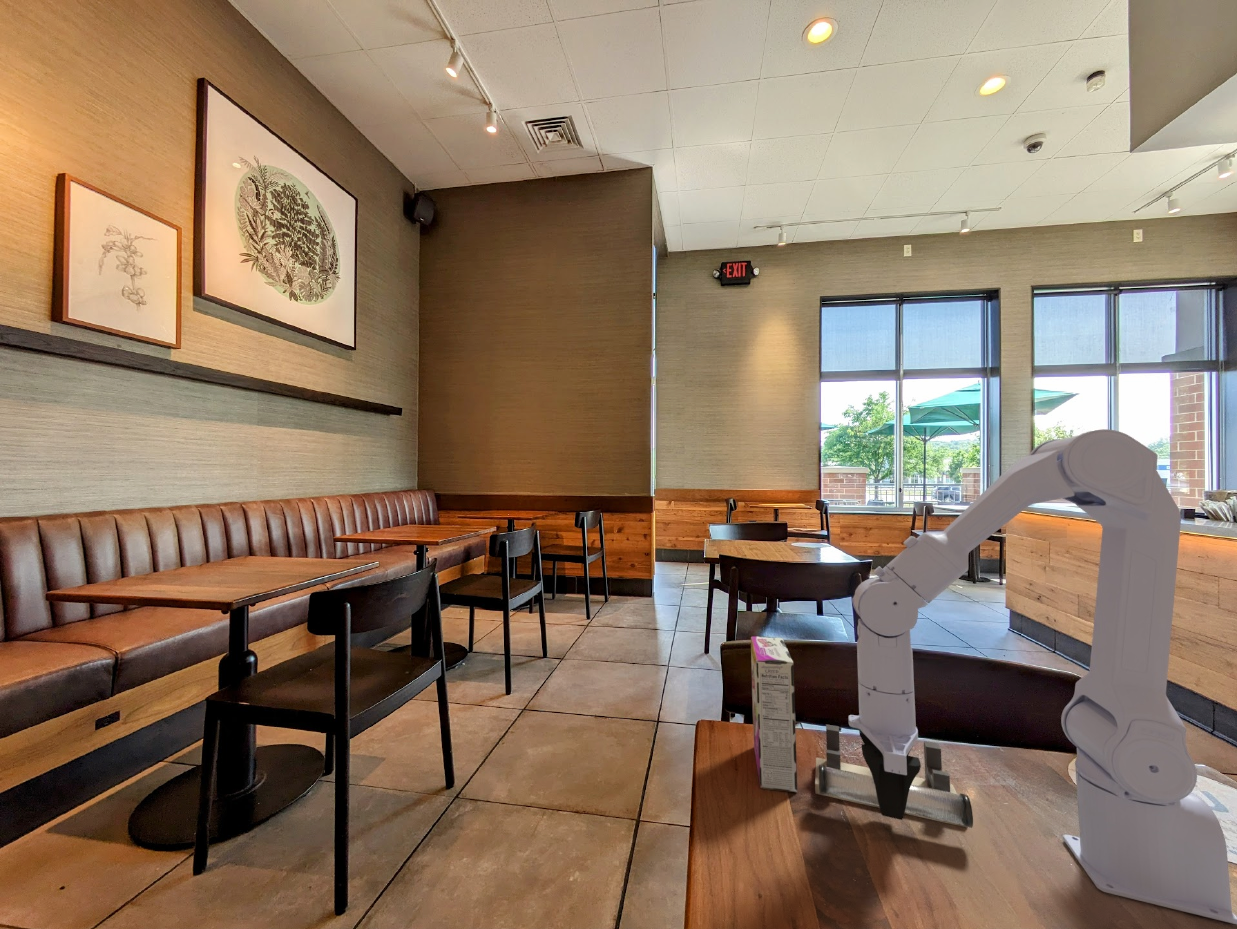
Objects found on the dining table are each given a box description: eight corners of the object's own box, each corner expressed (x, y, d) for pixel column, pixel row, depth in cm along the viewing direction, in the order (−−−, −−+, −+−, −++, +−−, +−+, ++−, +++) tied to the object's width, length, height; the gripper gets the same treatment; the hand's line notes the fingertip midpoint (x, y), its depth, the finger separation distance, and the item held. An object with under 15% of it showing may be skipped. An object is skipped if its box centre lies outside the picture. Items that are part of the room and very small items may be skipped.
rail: (966, 817, 54) (964, 789, 54) (973, 834, 51) (972, 804, 51) (819, 784, 60) (819, 759, 60) (819, 798, 57) (818, 772, 57)
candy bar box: (751, 746, 73) (749, 635, 74) (786, 750, 72) (783, 637, 73) (757, 790, 62) (755, 658, 63) (798, 794, 61) (795, 661, 62)
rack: (953, 794, 61) (950, 744, 62) (967, 827, 55) (964, 772, 55) (816, 766, 67) (815, 721, 68) (815, 793, 61) (814, 744, 62)
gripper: (845, 661, 64) (848, 767, 64) (850, 702, 51) (854, 837, 50) (906, 668, 62) (910, 779, 61) (928, 714, 48) (934, 857, 47)
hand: (889, 807), depth 55 cm, fingers closed on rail, 3 cm apart
